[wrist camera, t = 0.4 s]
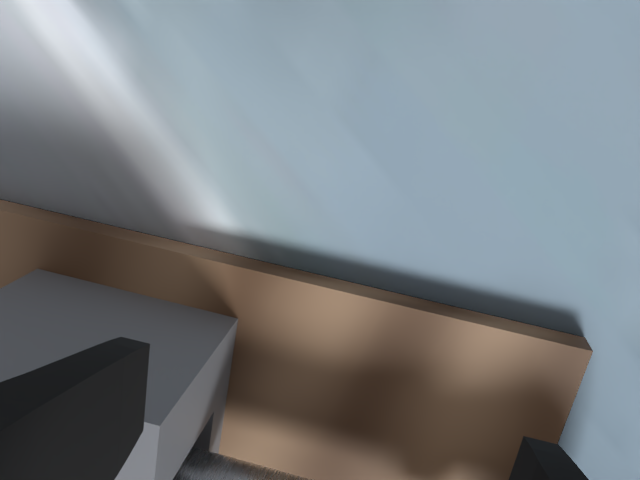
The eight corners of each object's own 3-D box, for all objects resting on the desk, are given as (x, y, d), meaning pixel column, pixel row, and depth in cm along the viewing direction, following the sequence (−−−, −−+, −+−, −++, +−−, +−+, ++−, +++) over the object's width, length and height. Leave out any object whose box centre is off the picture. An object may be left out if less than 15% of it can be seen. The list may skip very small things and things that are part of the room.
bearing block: (238, 318, 21) (159, 426, 15) (207, 528, 24) (132, 687, 18) (37, 268, 22) (-116, 350, 16) (34, 477, 25) (-94, 612, 19)
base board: (584, 337, 20) (592, 351, 19) (477, 624, 24) (479, 647, 23) (-85, 179, 23) (-107, 184, 22) (-68, 462, 27) (-86, 477, 26)
